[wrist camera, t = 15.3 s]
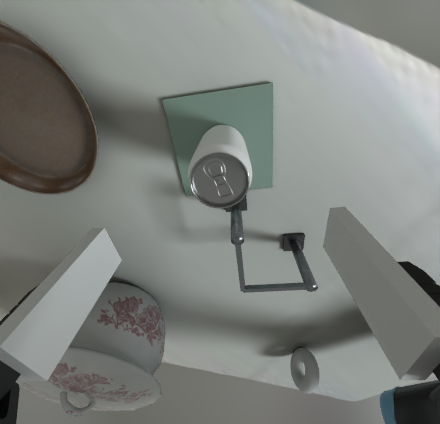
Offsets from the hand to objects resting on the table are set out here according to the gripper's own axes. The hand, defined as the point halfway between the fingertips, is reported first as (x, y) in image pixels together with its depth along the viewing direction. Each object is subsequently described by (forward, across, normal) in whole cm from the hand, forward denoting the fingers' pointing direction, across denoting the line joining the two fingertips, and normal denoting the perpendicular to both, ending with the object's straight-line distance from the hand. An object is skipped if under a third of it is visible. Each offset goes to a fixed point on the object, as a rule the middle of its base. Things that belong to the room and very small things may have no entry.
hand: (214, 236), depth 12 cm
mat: (+20, 0, 0) cm, 21 cm away
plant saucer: (+21, +26, -7) cm, 34 cm away
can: (+20, 0, 0) cm, 20 cm away
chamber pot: (+21, +29, +35) cm, 50 cm away
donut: (+21, -15, +61) cm, 66 cm away
